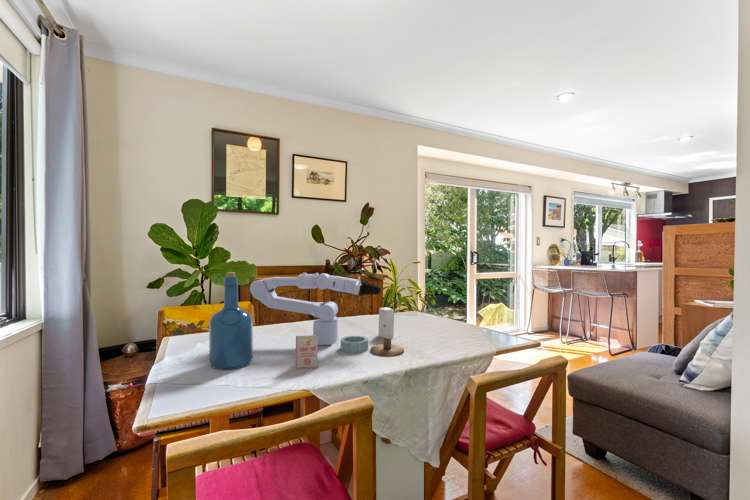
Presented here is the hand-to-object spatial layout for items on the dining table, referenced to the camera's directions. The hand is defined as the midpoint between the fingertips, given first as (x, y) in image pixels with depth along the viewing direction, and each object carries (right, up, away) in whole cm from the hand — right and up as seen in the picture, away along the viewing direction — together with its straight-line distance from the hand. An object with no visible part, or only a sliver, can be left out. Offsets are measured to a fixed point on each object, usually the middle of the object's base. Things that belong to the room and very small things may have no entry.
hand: (380, 290), depth 143 cm
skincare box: (+3, -21, +10) cm, 23 cm away
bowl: (-9, -21, -8) cm, 24 cm away
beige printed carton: (-24, -22, -26) cm, 41 cm away
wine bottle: (-49, -22, -23) cm, 58 cm away
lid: (+2, -20, -11) cm, 23 cm away
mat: (+2, -21, -11) cm, 24 cm away
